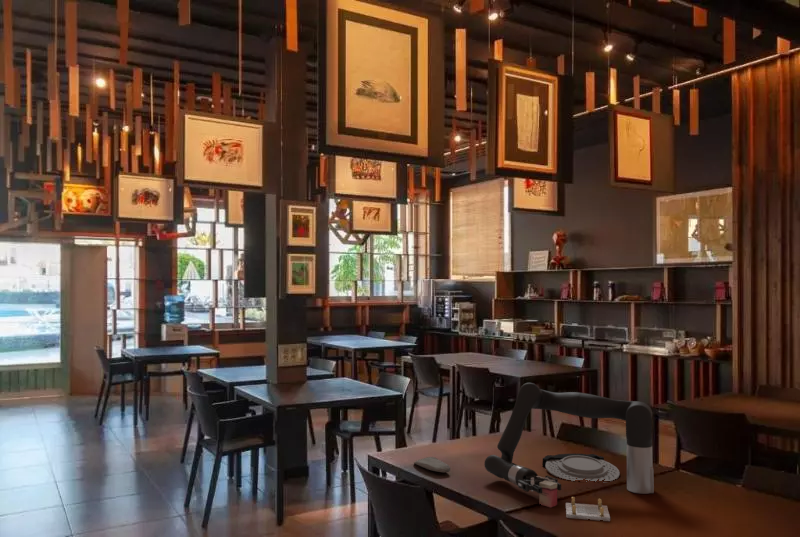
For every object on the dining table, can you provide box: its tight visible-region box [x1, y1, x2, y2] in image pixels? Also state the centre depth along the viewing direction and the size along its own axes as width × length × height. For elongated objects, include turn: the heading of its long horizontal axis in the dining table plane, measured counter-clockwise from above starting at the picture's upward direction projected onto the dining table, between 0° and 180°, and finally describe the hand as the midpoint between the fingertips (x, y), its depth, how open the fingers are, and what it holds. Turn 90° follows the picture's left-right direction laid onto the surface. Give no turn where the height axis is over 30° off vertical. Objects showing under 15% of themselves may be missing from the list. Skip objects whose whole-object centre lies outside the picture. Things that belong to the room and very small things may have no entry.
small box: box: [538, 480, 558, 508], centre depth 231 cm, size 5×4×8 cm
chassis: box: [565, 496, 611, 522], centre depth 222 cm, size 14×12×4 cm
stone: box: [413, 456, 451, 473], centre depth 276 cm, size 24×4×10 cm
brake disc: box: [541, 453, 621, 482], centre depth 273 cm, size 32×30×5 cm
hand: (551, 489), depth 230 cm, fingers open, 8 cm apart
